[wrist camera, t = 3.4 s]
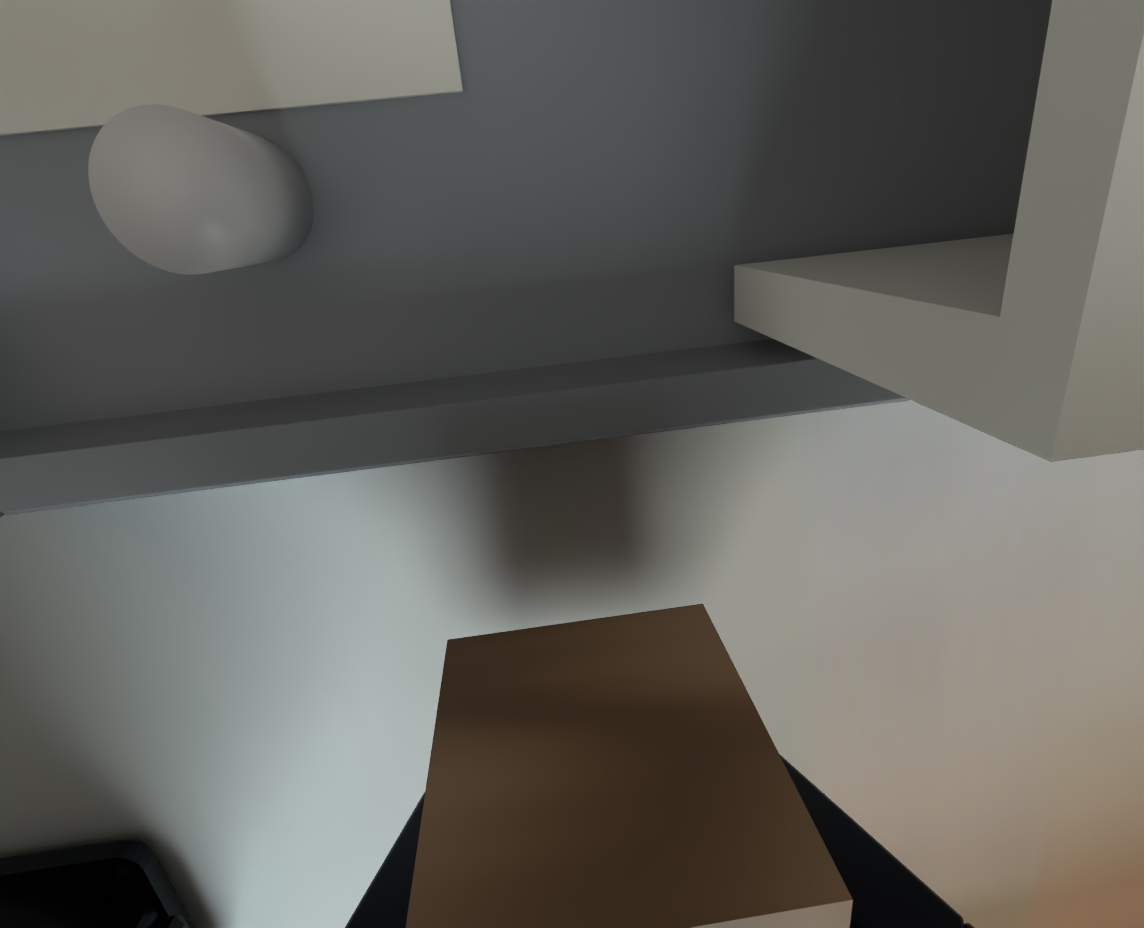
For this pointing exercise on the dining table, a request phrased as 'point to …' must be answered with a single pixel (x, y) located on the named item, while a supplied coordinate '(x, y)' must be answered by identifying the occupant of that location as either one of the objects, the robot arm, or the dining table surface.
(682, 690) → the walnut block
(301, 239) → the housing base
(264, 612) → the dining table surface
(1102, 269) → the cover
